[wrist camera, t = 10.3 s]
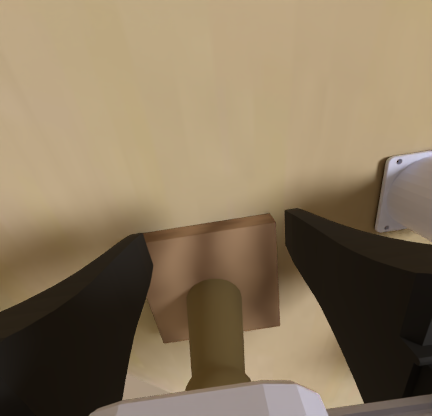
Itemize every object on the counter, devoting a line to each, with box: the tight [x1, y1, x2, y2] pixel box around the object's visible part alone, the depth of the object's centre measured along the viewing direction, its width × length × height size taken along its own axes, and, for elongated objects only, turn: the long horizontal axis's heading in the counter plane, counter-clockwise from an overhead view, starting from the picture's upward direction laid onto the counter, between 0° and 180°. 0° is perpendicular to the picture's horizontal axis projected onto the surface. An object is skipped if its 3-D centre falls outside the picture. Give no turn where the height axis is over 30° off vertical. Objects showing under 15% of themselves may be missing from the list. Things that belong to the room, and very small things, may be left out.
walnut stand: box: [143, 213, 280, 343], centre depth 24 cm, size 14×14×2 cm
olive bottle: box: [185, 279, 251, 391], centre depth 19 cm, size 6×6×11 cm
